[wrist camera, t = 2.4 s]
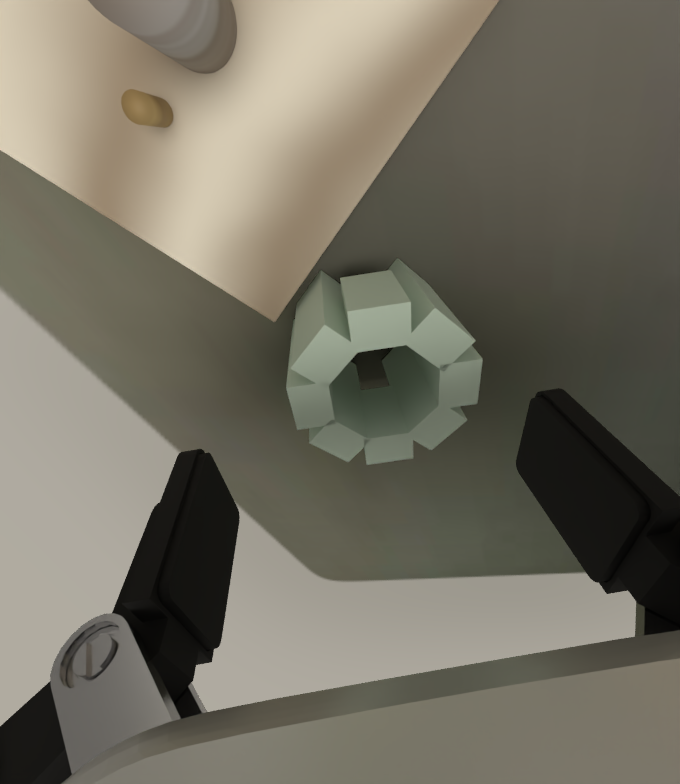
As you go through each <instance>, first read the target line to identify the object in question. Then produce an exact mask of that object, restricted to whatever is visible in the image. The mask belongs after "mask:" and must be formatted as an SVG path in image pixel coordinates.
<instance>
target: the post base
mask: <svg viewBox="0 0 680 784" xmlns="http://www.w3.org/2000/svg"><path fill="white" fill-rule="evenodd" d="M498 1H499V0H0V150H1V151H3V152H5V153H6V154H8V155H9V156H11V157H12V158H14V159H16V160H17V161H19V162H20V163H22V164H24V165H25V166H27V167H28V168H30V169H32V170H33V171H35V172H36V173H38V174H40V175H41V176H43V177H44V178H46V179H47V180H49V181H51V182H52V183H54V184H55V185H57V186H59V187H60V188H62V189H63V190H65V191H67V192H68V193H70V194H71V195H73V196H75V197H76V198H78V199H79V200H81V201H82V202H84V203H86V204H87V205H89V206H90V207H92V208H94V209H95V210H97V211H98V212H100V213H102V214H103V215H105V216H106V217H108V218H110V219H111V220H113V221H114V222H116V223H117V224H119V225H121V226H122V227H124V228H125V229H127V230H129V231H130V232H132V233H133V234H135V235H137V236H138V237H140V238H141V239H143V240H145V241H146V242H148V243H149V244H151V245H152V246H154V247H156V248H157V249H159V250H160V251H162V252H164V253H165V254H167V255H168V256H170V257H172V258H173V259H175V260H176V261H178V262H180V263H181V264H183V265H184V266H186V267H187V268H189V269H191V270H192V271H194V272H195V273H197V274H199V275H200V276H202V277H203V278H205V279H207V280H208V281H210V282H211V283H213V284H214V285H216V286H218V287H219V288H221V289H222V290H224V291H226V292H227V293H229V294H230V295H232V296H234V297H235V298H237V299H238V300H240V301H242V302H243V303H245V304H246V305H248V306H249V307H251V308H253V309H254V310H256V311H257V312H259V313H261V314H262V315H264V316H265V317H267V318H269V319H270V320H272V321H273V322H275V321H276V320H277V318H278V317H279V316H280V314H281V313H282V311H283V310H284V308H285V307H286V305H287V304H288V303H289V301H290V300H291V298H292V297H293V295H294V294H295V293H296V291H297V290H298V288H299V287H300V285H301V284H302V282H303V281H304V280H305V278H306V277H307V275H308V274H309V272H310V271H311V270H312V268H313V267H314V265H315V264H316V262H317V261H318V260H319V258H320V257H321V255H322V254H323V252H324V251H325V249H326V248H327V247H328V245H329V244H330V242H331V241H332V239H333V238H334V237H335V235H336V234H337V232H338V231H339V229H340V228H341V227H342V225H343V224H344V222H345V221H346V219H347V218H348V216H349V215H350V214H351V212H352V211H353V209H354V208H355V206H356V205H357V204H358V202H359V201H360V199H361V198H362V196H363V195H364V193H365V192H366V191H367V189H368V188H369V186H370V185H371V183H372V182H373V181H374V179H375V178H376V176H377V175H378V173H379V172H380V171H381V169H382V168H383V166H384V165H385V163H386V162H387V160H388V159H389V158H390V156H391V155H392V153H393V152H394V150H395V149H396V148H397V146H398V145H399V143H400V142H401V140H402V139H403V138H404V136H405V135H406V133H407V132H408V130H409V129H410V127H411V126H412V125H413V123H414V122H415V120H416V119H417V117H418V116H419V115H420V113H421V112H422V110H423V109H424V107H425V106H426V104H427V103H428V102H429V100H430V99H431V97H432V96H433V94H434V93H435V92H436V90H437V89H438V87H439V86H440V84H441V83H442V82H443V80H444V79H445V77H446V76H447V74H448V73H449V71H450V70H451V69H452V67H453V66H454V64H455V63H456V61H457V60H458V59H459V57H460V56H461V54H462V53H463V51H464V50H465V49H466V47H467V46H468V44H469V43H470V41H471V40H472V38H473V37H474V36H475V34H476V33H477V31H478V30H479V28H480V27H481V26H482V24H483V23H484V21H485V20H486V18H487V17H488V15H489V14H490V13H491V11H492V10H493V8H494V7H495V5H496V4H497V3H498Z"/></svg>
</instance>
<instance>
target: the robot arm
mask: <svg viewBox="0 0 680 784" xmlns="http://www.w3.org/2000/svg"><path fill="white" fill-rule="evenodd" d="M516 467H517V470H518V472H519V474H520V475H521V477H522V478H523V480H524V481H525V483H526V484H527V486H528V487H529V489H530V490H531V492H532V493H533V495H534V496H535V498H536V499H537V501H538V502H539V504H540V505H541V506H542V508H543V509H544V511H545V512H546V514H547V515H548V517H549V518H550V520H551V521H552V523H553V524H554V526H555V527H556V529H557V530H558V532H559V533H560V535H561V536H562V538H563V539H564V540H565V542H566V543H567V545H568V546H569V548H570V549H571V551H572V552H573V554H574V555H575V557H576V558H577V560H578V561H579V563H580V564H581V566H582V567H583V569H584V570H585V571H586V573H587V574H588V576H589V577H590V578H591V579H592V580H593V581H595V582H599V583H600V585H601V586H602V588H603V589H604V590H605V592H606V593H607V594H609V593H615V592H621V591H627V590H628V591H629V592H630V593H631V595H632V596H633V597H634V599H635V600H636V629H635V630H636V631H635V637H631V638H624V639H618V640H612V641H606V642H600V643H594V644H588V645H582V646H576V647H570V648H565V649H558V650H552V651H546V652H540V653H534V654H528V655H523V656H516V657H511V658H505V659H499V660H493V661H488V662H482V663H476V664H470V665H465V666H459V667H453V668H447V669H441V670H435V671H430V672H424V673H419V674H412V675H407V676H401V677H395V678H389V679H384V680H378V681H373V682H368V683H361V684H356V685H350V686H344V687H339V688H333V689H328V690H322V691H316V692H311V693H305V694H300V695H294V696H289V697H283V698H277V699H272V700H267V701H262V702H257V703H252V704H247V705H242V706H237V707H232V708H226V709H222V710H217V711H212V712H207V711H206V709H205V707H204V705H203V703H202V702H201V700H200V698H199V696H198V695H197V693H196V691H195V689H194V687H193V685H192V683H191V682H192V681H193V678H194V673H195V667H196V665H198V664H204V663H209V662H212V657H213V650H214V649H215V648H218V647H219V645H220V642H221V638H222V631H223V625H224V618H225V612H226V605H227V599H228V592H229V585H230V579H231V572H232V565H233V559H234V552H235V545H236V539H237V532H238V526H239V511H238V508H237V506H236V504H235V502H234V500H233V498H232V496H231V494H230V492H229V490H228V488H227V486H226V484H225V482H224V480H223V478H222V476H221V474H220V472H219V470H218V468H217V466H216V464H215V462H214V460H213V458H212V456H211V454H210V453H205V452H204V451H203V450H202V449H197V450H191V451H185V452H181V453H179V455H178V456H177V459H176V462H175V464H174V467H173V470H172V472H171V475H170V478H169V481H168V483H167V485H166V488H165V491H164V493H163V496H162V499H161V501H160V503H158V504H157V505H156V506H155V507H154V509H153V511H152V513H151V515H150V518H149V520H148V523H147V526H146V528H145V531H144V533H143V536H142V538H141V541H140V543H139V546H138V548H137V551H136V554H135V556H134V559H133V561H132V564H131V566H130V569H129V571H128V574H127V577H126V579H125V582H124V584H123V587H122V589H121V592H120V594H119V597H118V600H117V602H116V605H115V607H114V610H113V612H112V613H111V614H103V615H100V616H98V617H95V618H93V619H91V620H90V621H88V622H87V623H85V624H84V625H82V626H81V627H80V628H79V629H78V630H77V631H76V632H75V633H73V634H72V635H71V637H70V638H69V639H68V640H67V642H66V643H65V644H64V645H63V647H62V648H61V650H60V651H59V654H58V655H57V657H56V659H55V661H54V664H53V667H52V671H51V675H50V677H51V681H50V682H49V683H48V684H47V685H46V686H45V687H43V688H42V689H41V690H40V691H39V692H38V693H37V694H36V695H35V696H33V697H32V698H31V699H30V700H29V701H28V702H27V703H26V704H25V705H24V706H22V707H21V708H20V709H19V710H18V711H17V712H16V713H15V714H14V715H13V716H11V717H10V718H9V719H8V720H7V721H6V722H5V723H4V724H3V725H1V726H0V784H680V496H678V495H677V494H676V493H675V492H674V491H673V490H672V489H671V488H670V487H669V486H668V485H666V484H665V483H664V482H663V481H662V480H661V479H660V478H659V477H658V476H657V475H656V474H655V473H653V472H652V471H651V470H650V469H649V468H648V467H647V466H646V465H645V464H644V463H643V462H641V461H640V460H639V459H638V458H637V457H636V456H635V455H634V454H633V453H632V452H631V451H630V450H628V449H627V448H626V447H625V446H624V445H623V444H622V443H621V442H620V441H619V440H618V439H616V438H615V437H614V436H613V435H612V434H611V433H610V432H609V431H608V430H607V429H606V428H605V427H603V426H602V425H601V424H600V423H599V422H598V421H597V420H596V419H595V418H594V417H593V416H591V415H590V414H589V413H588V412H587V411H586V410H585V409H584V408H583V407H582V406H581V405H580V404H578V403H577V402H576V401H575V400H574V399H573V398H572V397H571V396H570V395H569V394H568V393H566V392H565V391H564V390H563V389H559V388H558V389H552V390H547V391H541V392H538V393H537V394H536V396H535V398H532V399H531V401H530V405H529V409H528V413H527V417H526V421H525V426H524V430H523V434H522V438H521V443H520V447H519V451H518V455H517V460H516Z"/></svg>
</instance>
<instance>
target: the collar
mask: <svg viewBox="0 0 680 784" xmlns="http://www.w3.org/2000/svg"><path fill="white" fill-rule="evenodd" d="M340 281H341V284H339V283H338V282H337V281H335V280H334V279H333V278H331V277H330V276H329V275H327V274H326V273H324V272H323V271H322V270H320V271H319V273H318V274H317V275H316V277H315V278H314V280H313V281H312V283H311V284H310V285H309V287H308V288H307V290H306V291H305V292H304V294H303V295H302V297H301V298H300V299H299V301H298V302H297V304H296V314H295V319H293V327H292V336H291V346H290V355H289V365H288V374H287V384H286V390H287V394H288V397H289V401H290V405H291V408H292V412H293V416H294V419H295V423H296V427H297V430H300V429H307V428H309V443H310V444H312V445H314V446H316V447H318V448H320V449H322V450H324V451H326V452H328V453H330V454H332V455H334V456H336V457H338V458H340V459H343V460H345V461H347V462H349V461H350V460H351V459H352V458H353V457H354V456H355V455H356V454H357V453H359V452H360V451H361V450H362V449H363V448H364V451H365V457H366V463H367V465H370V464H377V463H384V462H391V461H398V460H405V459H412V458H413V440H414V441H416V442H418V443H419V444H421V445H423V446H424V447H426V448H428V449H430V450H433V449H434V448H435V447H436V446H437V445H438V444H440V443H441V442H442V441H443V440H444V439H446V438H447V437H448V436H449V435H450V434H452V433H453V432H454V431H455V430H456V429H458V428H459V427H460V426H461V425H462V424H464V423H465V422H466V421H467V418H466V417H465V415H464V413H463V411H462V410H461V408H460V406H466V405H473V404H477V403H478V394H479V386H480V378H481V370H482V361H483V359H482V357H481V356H480V355H479V354H478V352H477V351H476V350H475V349H474V347H473V346H472V344H473V343H474V342H475V339H474V338H473V337H472V336H471V335H470V333H469V332H468V331H467V330H466V329H465V327H464V326H463V325H462V324H461V323H460V321H459V320H458V319H457V318H456V317H455V315H454V314H453V313H452V312H451V311H450V310H449V308H448V307H447V306H446V305H445V304H444V302H443V301H442V300H441V299H440V298H439V296H438V295H437V294H436V293H435V292H434V290H433V289H432V288H431V287H430V286H429V284H428V283H427V282H425V281H424V280H423V279H422V278H421V277H419V276H418V275H417V274H416V273H415V272H414V271H412V270H411V269H410V268H409V267H408V266H406V265H405V264H404V263H403V262H402V261H401V260H399V259H398V258H397V259H396V260H395V261H394V262H393V264H392V265H391V266H390V267H389V269H388V270H387V271H381V272H374V273H368V274H361V275H355V276H348V277H342V278H340ZM391 347H394V348H393V349H392V350H391V351H390V352H389V353H388V354H387V356H386V357H385V358H384V359H383V360H382V364H383V367H384V370H385V373H386V376H387V379H388V382H389V385H390V386H386V387H380V388H373V389H366V390H361V388H360V383H359V378H358V373H357V368H356V365H355V364H354V363H352V362H351V360H352V358H353V357H354V356H355V355H356V354H357V353H358V352H364V351H371V350H377V349H384V348H391Z"/></svg>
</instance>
